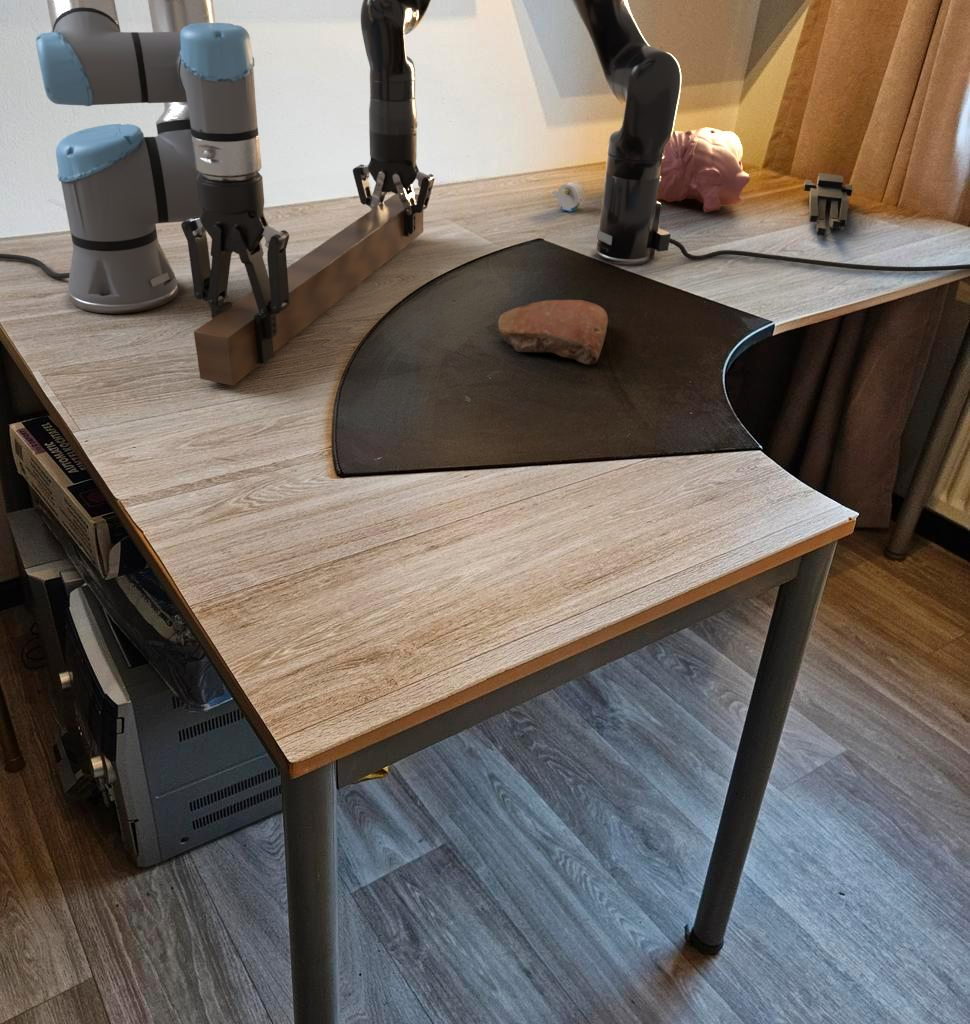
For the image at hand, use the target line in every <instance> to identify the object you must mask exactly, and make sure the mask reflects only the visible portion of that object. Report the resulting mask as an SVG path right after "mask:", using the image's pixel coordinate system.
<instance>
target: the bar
mask: <svg viewBox="0 0 970 1024" xmlns="http://www.w3.org/2000/svg"><path fill="white" fill-rule="evenodd" d="M414 194H415V196H414V198H415V201H416V203H417V199H418V195H419V194H416V193H414ZM405 214H406V213H405V210H404V206H403V203H402V202H401V201H400V198H399V195H398V194H395V193H394V194H393V195H391V196H390V197H388V198H387V199H385V200H384V201H383V203H381V204H380V205H378V206H377V207H375V208H374V209H372V210H371V209H370V210H369V211H368V212H367V213H365V214H363V215H362V216H360V217H359V218H358V219H356V220H355V221H353V222H352V223H350V224H349V225H347V226H346V227H345V228H342V230H340V231H339V232H337V233H336V234H334V235H332V236H331V237H329V238H328V239H327V240H325V241H324V242H323V243H321V244H320V245H318V246H317V247H315V248H314V249H312V250H311V251H310V252H308V253H307V254H305V255H303V256H301V258H299V259H298V260H296V261H295V262H293V263H291V264H290V265H289V266H287V274H288V288H289V302H290V304H289V306H288V307H287V308H286V309H284V310H283V311H282V312H280V313H279V314H276V323H277V334H276V336H275V337H273V338H272V339H273V351H274V353H276V352H277V351H279V349H280V348H282V347H283V346H284V345H286V344H287V343H288V342H289V341H290V340H291V339H293V338H294V337H296V336H297V335H298V334H299V333H301V332H302V331H304V329H305V328H307V327H308V326H310V324H312V323H313V322H315V320H317V319H318V318H319V317H320V316H322V314H324V313H325V312H327V311H328V310H329V309H330V308H332V307H333V306H334V305H335V304H336V303H338V302H339V301H340V300H341V299H343V298H344V297H345V296H346V295H347V294H349V293H350V292H351V291H352V290H354V289H355V288H356V287H357V286H358V285H360V284H361V283H362V282H363V281H365V280H366V279H367V278H368V277H370V276H371V275H372V274H373V273H375V272H376V271H377V270H379V269H380V268H381V267H382V266H383V265H385V264H386V263H387V262H388V261H390V259H392V258H393V257H394V256H396V255H397V254H398V253H400V252H401V251H402V250H403V249H405V247H407V246H408V245H409V244H410V243H412V242H413V241H414V240H416V239H417V238H418V237H419V236H420V235H421V234H423V233H424V210H423V211H422V212H421V213H416V230H415V232H413V233H412V235H411V236H409V237H406V236H404V215H405ZM257 313H259V310H258V307H257V303H256V300H255V297H254V294H253V290H252V291H251V292H249V293H248V294H246V295H244V297H242V298H240V299H238V301H236V302H234V303H232V306H230V307H229V308H227V309H226V310H224V311H223V312H222V313H220V314H219V315H217V316H216V317H214V318H213V319H212V318H211V319H209V320H208V321H207V322H205V323H204V324H202V325H201V326H200V327H198V328H197V329H195V330H194V331H193V337H194V344H195V352H196V357H197V365H198V372H199V378H200V380H204V381H210V382H214V383H219V384H223V385H228V386H235V385H236V384H237V383H239V382H240V381H242V379H244V378H245V377H246V376H247V375H248V374H249V373H251V372H252V371H254V369H256V368H258V367H259V366H260V364H258V354H257V343H256V333H255V322H254V315H256V314H257Z"/></svg>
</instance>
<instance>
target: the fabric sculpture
mask: <svg viewBox="0 0 970 1024" xmlns="http://www.w3.org/2000/svg"><path fill="white" fill-rule="evenodd" d="M742 159H743V145H742V144H741V141H740V138H739V137H738V135H736V133H734V132H732V131H722V130H720V129H716V128H713V127H700V128H698V129H693V130H688V131H680V130H679V131H678V130H676V131H674V130H673V131H672V135H671V138H670V140H669V142H668V143H667V145H666V147H665V151H664V157H663V164H662V171H661V179H660V186H659V193H658V199H659V200H663V201H665V202H667V203H671V202H678V203H679V202H682V201H684V200H685V199H688V200H697V201H698V202H700V203H701V204H703V207H702V209H703V212H704V213H709V212H712V211H713V212H714V211H719V210H721V207H724V206H732V205H736V204H739V203H740V202H741V201H742V197H741V196H742V195H741V194H742V192H743V191H744V189H745V187H746V186H747V185H748V184H749V183H750V174H749V173H747V172H745V171H744V170H743V163H742Z"/></svg>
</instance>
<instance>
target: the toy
mask: <svg viewBox="0 0 970 1024" xmlns="http://www.w3.org/2000/svg"><path fill="white" fill-rule="evenodd" d="M843 184H844V176H843V175H839V174H831V173H822V172H819V173H818V175H817V179H816V183H813V180H812V179H808V178H807V179H805V180H804V184H803V191H805V192H809V194H808V198H809V199H808V200H809V201H808V202H809V223H815V230H816V235H817V236H822V237H823V236H825V233H826V229H827V228H826V221H825V218H826V210H829V217H828V226H829V227H830V228H831V229H837V230H838V229H840V227H843V228H844V227H845V228H846V224H847V221H848V219H847V218H848V212H849V206H850V201H849V197H852V193H853V184H850V183H849V184H848V183H846V184H844V186H843Z"/></svg>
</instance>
